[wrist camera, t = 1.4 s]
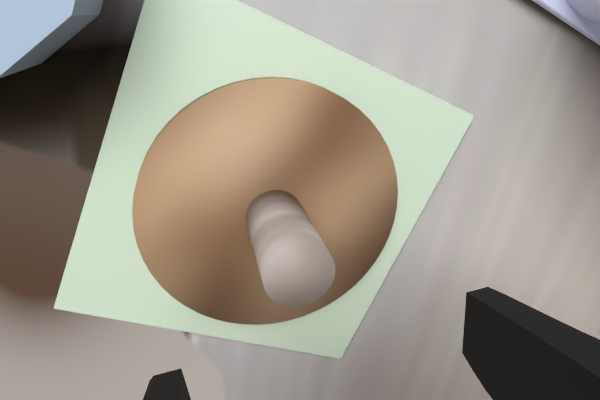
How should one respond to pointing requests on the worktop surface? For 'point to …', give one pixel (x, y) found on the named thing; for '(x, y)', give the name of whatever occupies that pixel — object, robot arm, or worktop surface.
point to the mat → (198, 81)
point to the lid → (264, 201)
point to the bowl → (39, 29)
